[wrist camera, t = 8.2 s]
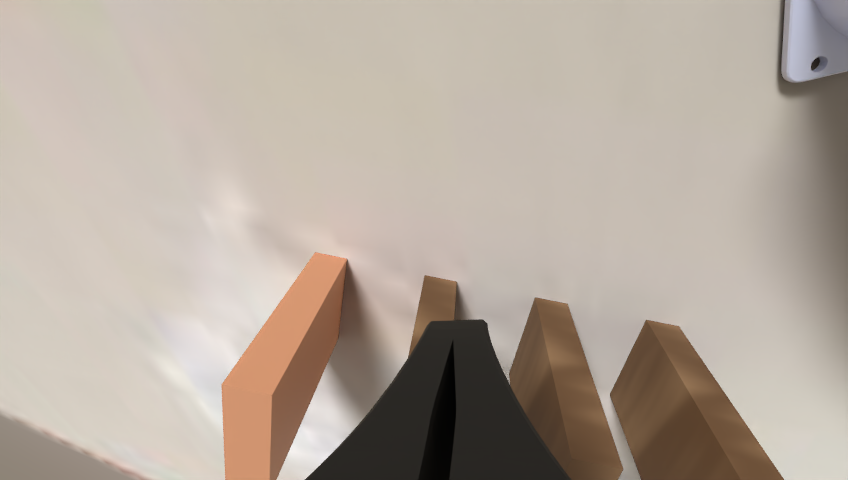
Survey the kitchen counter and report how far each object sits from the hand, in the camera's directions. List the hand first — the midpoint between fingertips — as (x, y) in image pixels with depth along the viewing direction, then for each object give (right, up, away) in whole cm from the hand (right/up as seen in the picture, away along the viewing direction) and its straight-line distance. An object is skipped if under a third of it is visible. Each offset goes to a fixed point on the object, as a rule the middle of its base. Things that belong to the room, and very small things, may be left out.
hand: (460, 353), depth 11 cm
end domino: (-6, 0, +12) cm, 14 cm away
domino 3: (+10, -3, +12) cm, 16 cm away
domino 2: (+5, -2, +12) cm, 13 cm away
